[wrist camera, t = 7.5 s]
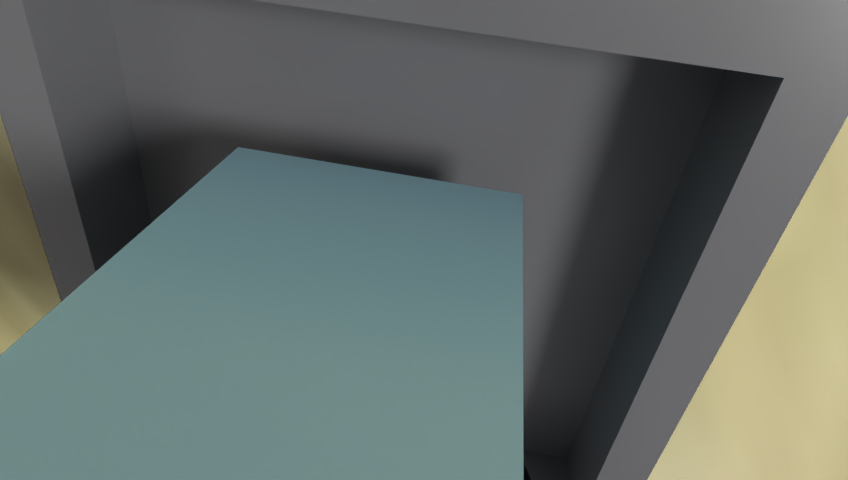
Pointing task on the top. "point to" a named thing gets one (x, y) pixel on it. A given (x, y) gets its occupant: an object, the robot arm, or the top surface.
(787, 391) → the top surface
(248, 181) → the light blue block
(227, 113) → the tray
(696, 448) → the top surface
